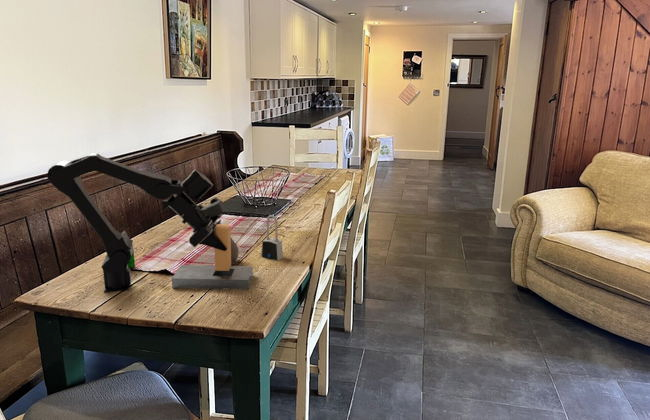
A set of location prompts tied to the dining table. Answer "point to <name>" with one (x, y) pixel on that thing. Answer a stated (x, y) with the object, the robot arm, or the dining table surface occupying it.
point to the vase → (234, 251)
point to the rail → (212, 277)
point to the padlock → (272, 244)
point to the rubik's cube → (131, 261)
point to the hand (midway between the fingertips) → (227, 247)
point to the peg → (221, 256)
